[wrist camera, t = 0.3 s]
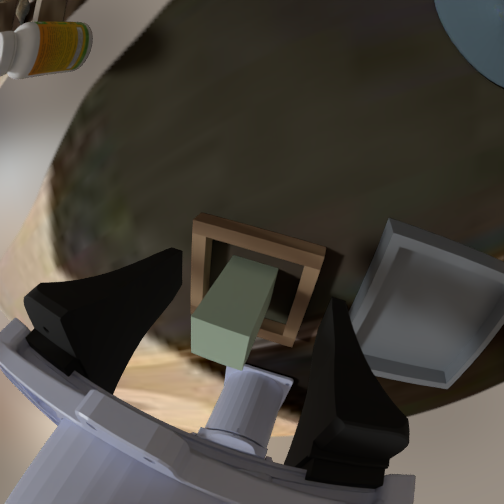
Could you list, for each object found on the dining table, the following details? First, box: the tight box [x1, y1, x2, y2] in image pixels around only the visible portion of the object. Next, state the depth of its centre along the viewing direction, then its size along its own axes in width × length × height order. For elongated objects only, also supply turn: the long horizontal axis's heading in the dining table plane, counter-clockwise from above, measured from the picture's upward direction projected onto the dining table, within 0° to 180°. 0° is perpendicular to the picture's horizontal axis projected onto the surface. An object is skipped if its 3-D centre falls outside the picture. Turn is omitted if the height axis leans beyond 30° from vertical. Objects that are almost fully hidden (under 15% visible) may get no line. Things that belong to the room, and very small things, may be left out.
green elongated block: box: [191, 255, 279, 371], centre depth 22 cm, size 4×4×8 cm
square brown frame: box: [191, 212, 326, 347], centre depth 25 cm, size 10×10×2 cm
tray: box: [349, 218, 504, 389], centre depth 21 cm, size 14×14×2 cm
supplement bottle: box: [0, 21, 93, 79], centre depth 14 cm, size 5×5×10 cm
